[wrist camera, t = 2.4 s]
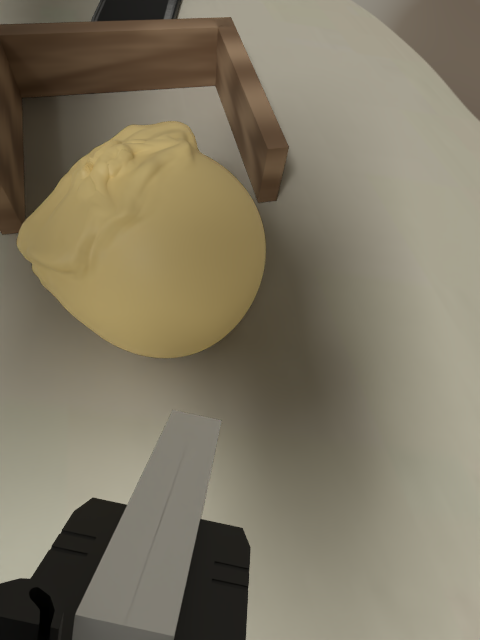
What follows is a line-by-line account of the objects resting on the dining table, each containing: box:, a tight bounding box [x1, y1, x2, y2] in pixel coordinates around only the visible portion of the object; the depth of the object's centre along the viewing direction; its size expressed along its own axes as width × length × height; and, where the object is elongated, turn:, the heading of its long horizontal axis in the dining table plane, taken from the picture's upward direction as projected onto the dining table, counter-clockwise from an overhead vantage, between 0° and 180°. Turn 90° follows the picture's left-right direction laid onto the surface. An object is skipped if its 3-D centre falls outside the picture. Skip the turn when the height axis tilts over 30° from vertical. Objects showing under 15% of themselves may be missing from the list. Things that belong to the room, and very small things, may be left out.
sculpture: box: [17, 121, 266, 358], centre depth 23 cm, size 11×12×11 cm
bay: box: [0, 17, 289, 235], centre depth 32 cm, size 16×20×5 cm
